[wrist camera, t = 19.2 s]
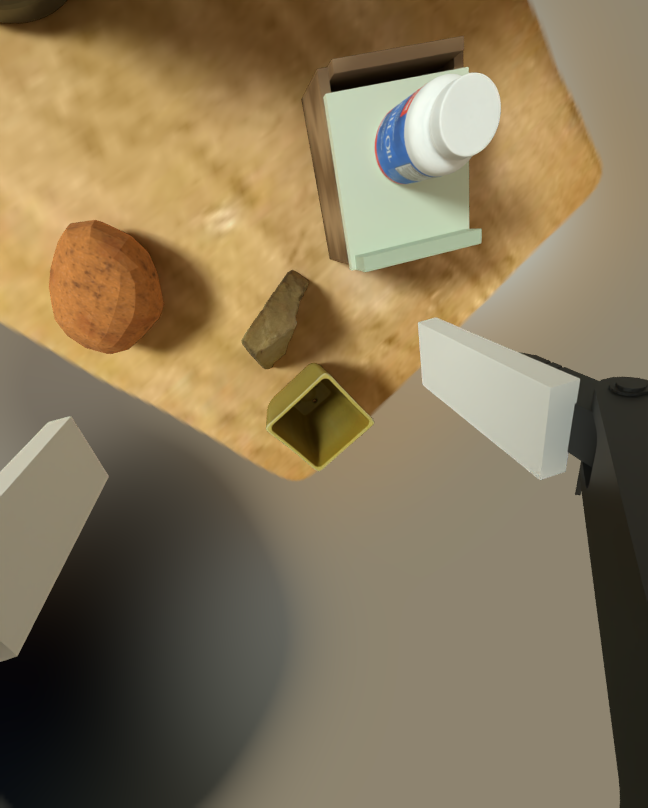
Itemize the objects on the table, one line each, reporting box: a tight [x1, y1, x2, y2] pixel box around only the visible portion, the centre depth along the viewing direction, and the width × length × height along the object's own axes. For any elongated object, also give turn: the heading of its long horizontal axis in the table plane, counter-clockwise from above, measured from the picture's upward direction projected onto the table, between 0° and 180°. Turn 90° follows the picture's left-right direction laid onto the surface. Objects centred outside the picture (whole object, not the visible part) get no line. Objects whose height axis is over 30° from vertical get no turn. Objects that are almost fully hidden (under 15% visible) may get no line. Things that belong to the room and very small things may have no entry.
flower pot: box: [266, 363, 374, 471], centre depth 42 cm, size 9×9×9 cm
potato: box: [49, 220, 164, 354], centre depth 33 cm, size 9×11×8 cm
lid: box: [323, 67, 482, 272], centre depth 30 cm, size 13×12×3 cm
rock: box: [241, 270, 309, 369], centre depth 38 cm, size 11×9×10 cm
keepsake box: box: [302, 36, 464, 264], centre depth 33 cm, size 14×12×8 cm
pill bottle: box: [374, 73, 501, 184], centre depth 25 cm, size 6×5×10 cm
